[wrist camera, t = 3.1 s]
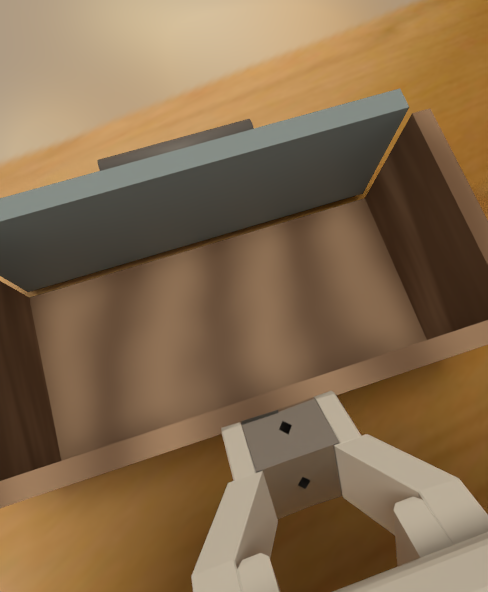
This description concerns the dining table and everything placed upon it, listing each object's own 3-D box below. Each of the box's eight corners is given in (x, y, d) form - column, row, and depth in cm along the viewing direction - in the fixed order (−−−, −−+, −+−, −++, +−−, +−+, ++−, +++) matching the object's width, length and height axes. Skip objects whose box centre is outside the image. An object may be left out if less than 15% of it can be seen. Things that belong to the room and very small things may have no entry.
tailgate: (351, 167, 32) (392, 73, 23) (362, 193, 31) (409, 107, 23) (22, 262, 30) (-69, 198, 21) (28, 292, 29) (-63, 238, 21)
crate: (373, 201, 32) (430, 108, 23) (442, 356, 29) (541, 326, 20) (21, 305, 30) (-83, 252, 20) (56, 486, 27) (-48, 524, 17)
